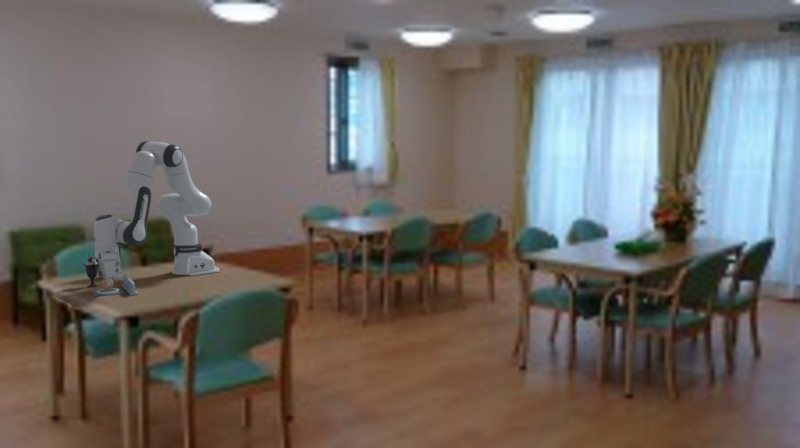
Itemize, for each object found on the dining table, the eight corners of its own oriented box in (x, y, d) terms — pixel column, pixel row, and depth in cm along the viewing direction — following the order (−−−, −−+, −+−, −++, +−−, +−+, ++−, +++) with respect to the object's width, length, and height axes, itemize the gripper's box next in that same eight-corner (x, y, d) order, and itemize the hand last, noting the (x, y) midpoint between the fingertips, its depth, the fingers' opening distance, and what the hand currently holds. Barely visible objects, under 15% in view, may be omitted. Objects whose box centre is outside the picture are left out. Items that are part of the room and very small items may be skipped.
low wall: (128, 285, 345) (128, 274, 344) (137, 294, 326) (137, 283, 325) (121, 286, 343) (121, 275, 343) (130, 295, 324) (130, 283, 324)
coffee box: (122, 277, 364) (121, 243, 362) (113, 279, 358) (111, 245, 356) (107, 275, 367) (105, 242, 365) (97, 278, 361) (96, 244, 359)
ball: (112, 287, 333) (112, 276, 333) (114, 289, 329) (114, 278, 328) (100, 288, 331) (100, 277, 330) (102, 290, 326) (101, 279, 326)
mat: (120, 288, 338) (120, 286, 338) (124, 293, 328) (124, 291, 328) (91, 291, 332) (91, 289, 332) (95, 296, 322) (95, 294, 322)
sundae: (85, 288, 338) (83, 255, 336) (84, 285, 344) (82, 252, 342) (101, 286, 341) (99, 253, 340) (99, 284, 347) (97, 251, 345)
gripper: (94, 250, 335) (96, 280, 337) (101, 256, 318) (103, 289, 319) (109, 248, 338) (111, 279, 340) (117, 255, 321) (119, 287, 322)
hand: (107, 284), depth 330 cm, fingers closed on ball, 5 cm apart
